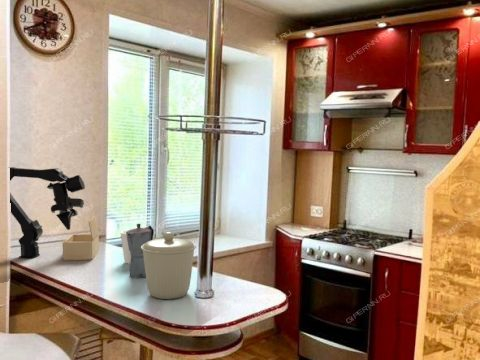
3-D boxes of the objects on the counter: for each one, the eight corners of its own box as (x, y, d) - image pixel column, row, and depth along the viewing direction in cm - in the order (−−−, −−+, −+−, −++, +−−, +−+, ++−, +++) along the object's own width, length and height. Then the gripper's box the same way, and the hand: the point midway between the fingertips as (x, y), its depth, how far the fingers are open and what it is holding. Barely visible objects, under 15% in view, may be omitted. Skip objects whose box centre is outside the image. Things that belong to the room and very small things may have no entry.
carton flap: (88, 221, 197) (89, 221, 197) (94, 216, 212) (95, 215, 212) (92, 240, 197) (93, 239, 197) (98, 233, 213) (98, 233, 213)
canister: (206, 291, 155) (206, 230, 154) (174, 307, 139) (174, 239, 138) (163, 283, 164) (163, 225, 162) (129, 297, 148) (129, 233, 146)
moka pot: (118, 278, 170) (118, 225, 169) (142, 268, 184) (141, 219, 183) (139, 281, 166) (139, 227, 165) (162, 270, 181) (162, 221, 179)
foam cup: (148, 261, 196) (148, 231, 195) (132, 265, 188) (132, 234, 187) (132, 258, 201) (132, 229, 200) (116, 262, 193) (116, 232, 192)
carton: (62, 260, 195) (61, 242, 194) (71, 251, 213) (71, 234, 213) (92, 260, 196) (92, 241, 196) (99, 250, 215) (99, 233, 215)
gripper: (73, 186, 192) (81, 221, 189) (84, 195, 210) (92, 227, 207) (46, 193, 191) (54, 228, 187) (60, 201, 209) (68, 234, 205)
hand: (68, 229), depth 197 cm, fingers closed
